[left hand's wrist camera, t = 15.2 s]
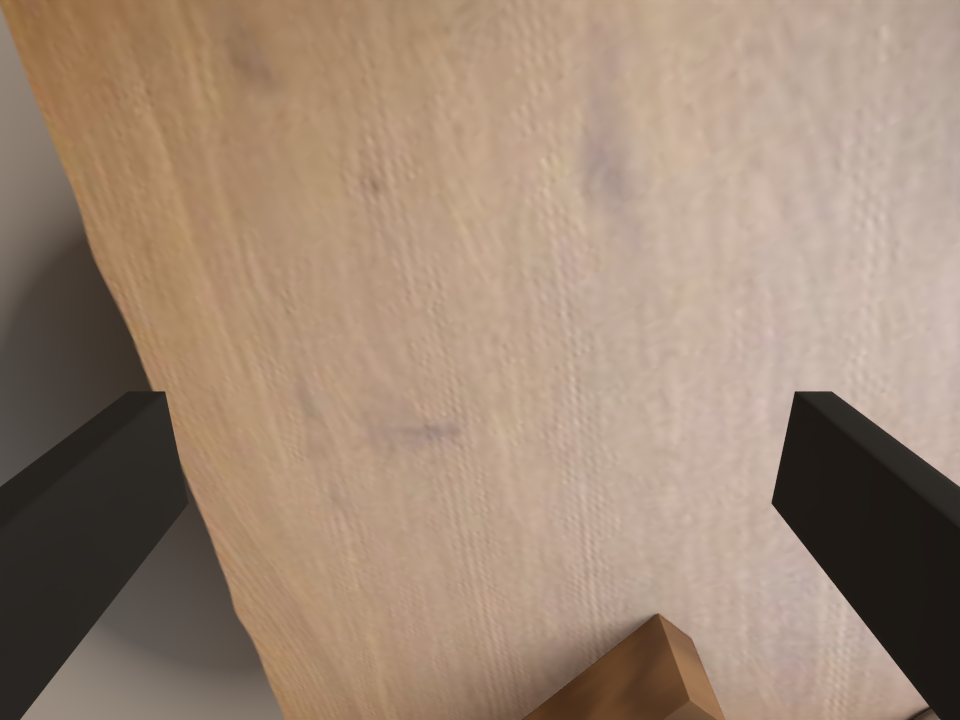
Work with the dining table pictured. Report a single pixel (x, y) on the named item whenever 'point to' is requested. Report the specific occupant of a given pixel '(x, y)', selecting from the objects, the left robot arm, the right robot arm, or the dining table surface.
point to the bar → (639, 682)
